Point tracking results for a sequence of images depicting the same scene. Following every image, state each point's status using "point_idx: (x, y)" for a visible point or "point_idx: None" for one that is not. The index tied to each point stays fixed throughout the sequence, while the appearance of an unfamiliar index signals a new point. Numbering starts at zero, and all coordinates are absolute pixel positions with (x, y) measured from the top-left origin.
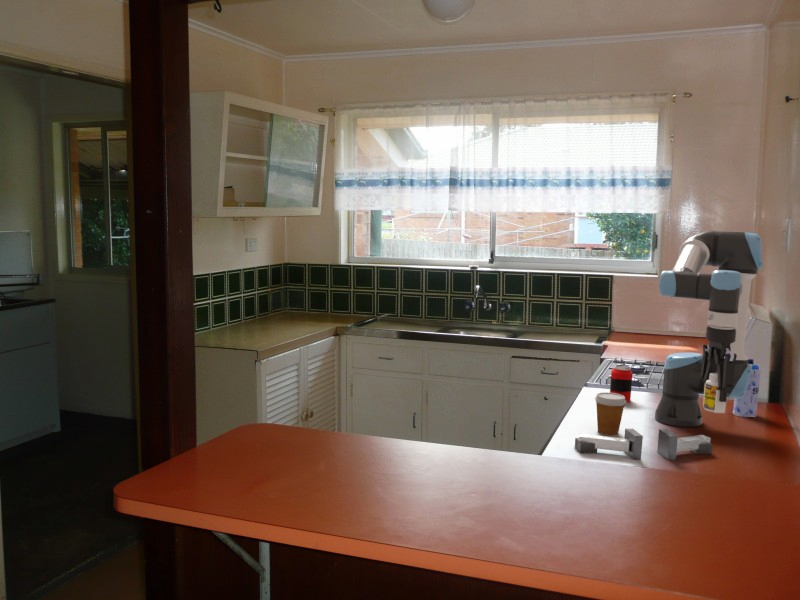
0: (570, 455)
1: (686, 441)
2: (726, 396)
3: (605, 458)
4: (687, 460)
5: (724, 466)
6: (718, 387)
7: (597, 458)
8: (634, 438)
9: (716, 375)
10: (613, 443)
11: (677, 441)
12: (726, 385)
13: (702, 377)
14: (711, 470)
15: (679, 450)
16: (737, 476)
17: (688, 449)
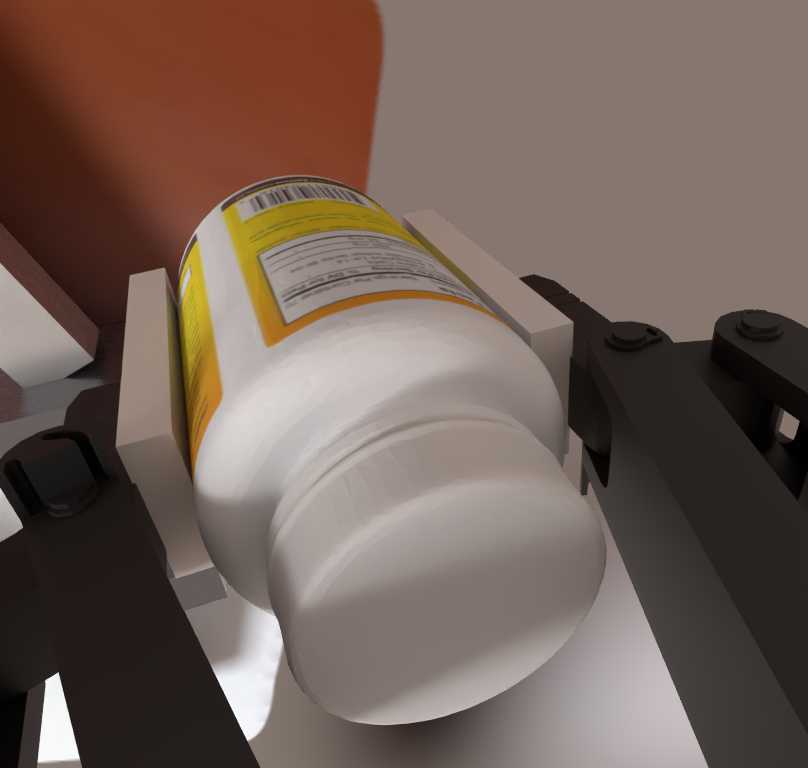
0: (229, 691)
1: (14, 276)
2: (583, 305)
3: (230, 595)
4: (132, 247)
5: (186, 23)
6: (583, 467)
7: (239, 618)
8: (225, 585)
9: (566, 633)
10: None
11: (60, 343)
12: (795, 441)
13: (40, 683)
14: (292, 150)
15: (69, 301)
16: (373, 13)
17: (5, 232)
